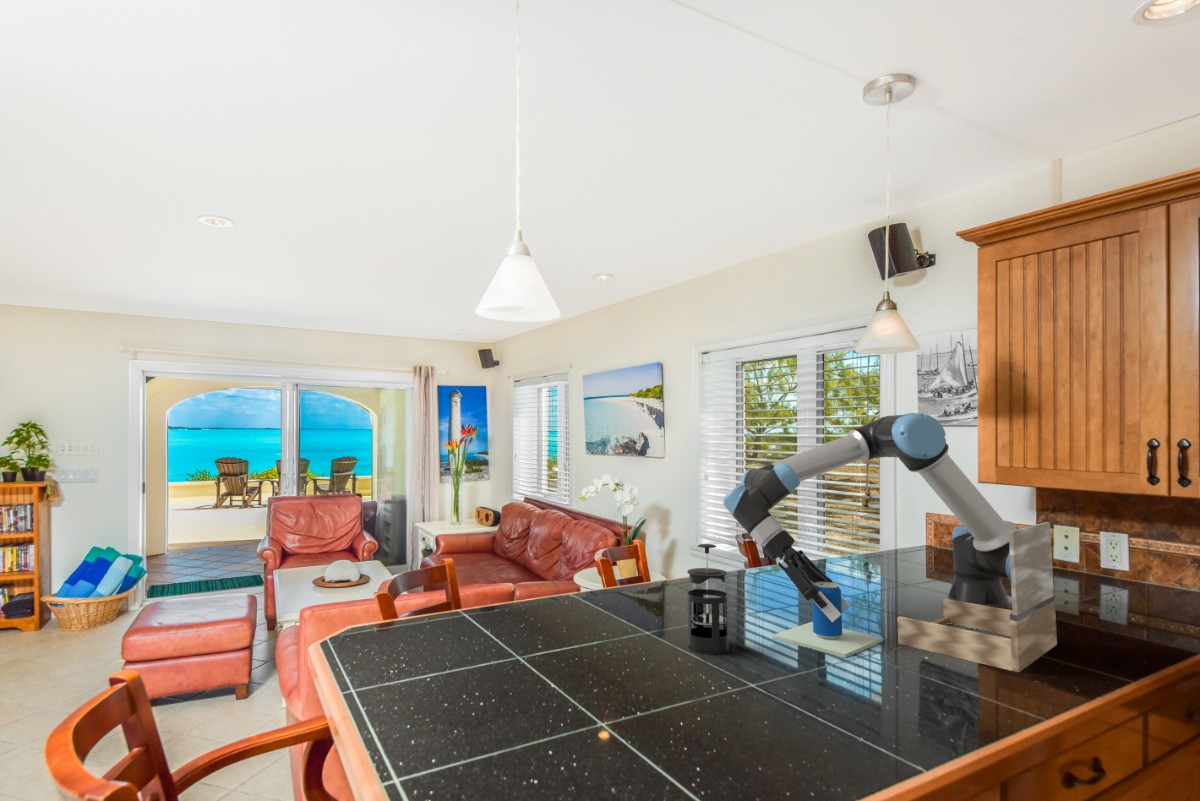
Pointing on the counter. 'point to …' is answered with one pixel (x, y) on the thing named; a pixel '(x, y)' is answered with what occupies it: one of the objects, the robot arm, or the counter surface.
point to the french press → (700, 636)
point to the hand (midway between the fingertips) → (841, 613)
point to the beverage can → (820, 620)
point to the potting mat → (829, 640)
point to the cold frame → (999, 613)
